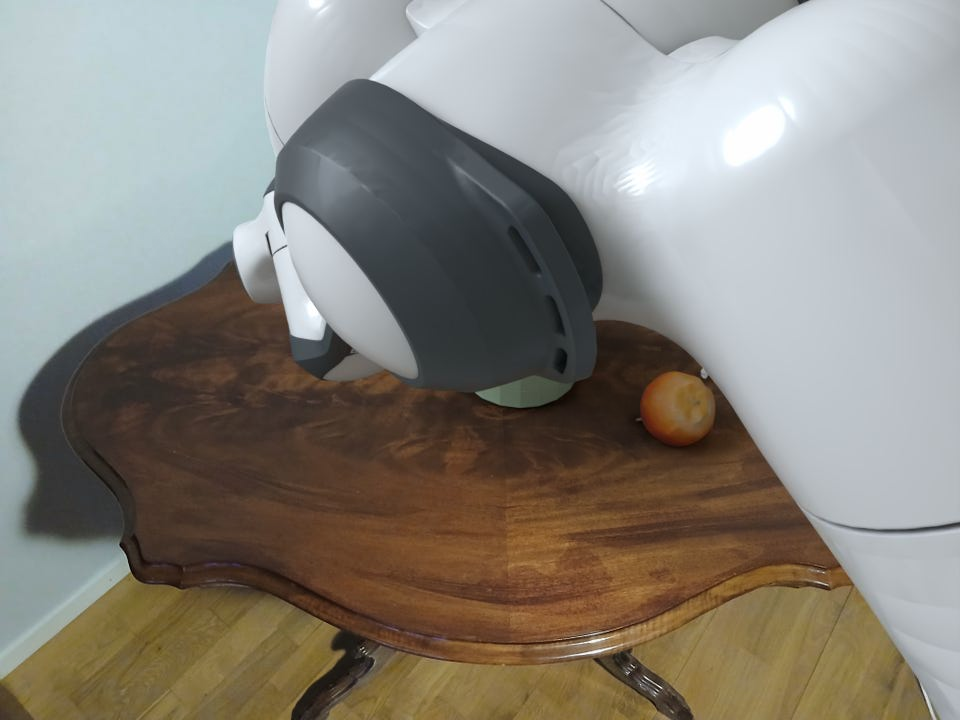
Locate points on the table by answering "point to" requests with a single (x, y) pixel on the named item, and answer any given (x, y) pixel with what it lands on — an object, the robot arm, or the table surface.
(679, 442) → the fruit
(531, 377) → the bowl
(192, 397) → the table surface
